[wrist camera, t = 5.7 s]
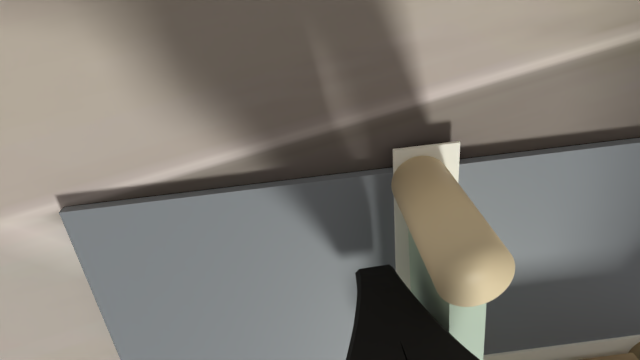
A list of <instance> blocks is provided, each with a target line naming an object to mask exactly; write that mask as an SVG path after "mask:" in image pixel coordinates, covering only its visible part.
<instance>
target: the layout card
mask: <svg viewBox="0 0 640 360" xmlns="http://www.w3.org/2000/svg"><path fill="white" fill-rule="evenodd" d="M417 156H431V157H435V158H437V159H438V160H440V161H441V162H442V163H443V164H444V165H445V166H446V167H447V169H448V170H449V171H450V173H451V174H452V175H453V177H454V178H455V180H456V181H457V182H458V184H459V185H460V186H461V188H462V189H463V190H464V192H465V193H466V194H467V196H468V197H469V198H470V200H471V201H472V202H473V204H474V205H475V206H476V208H477V209H478V210H479V212H480V213H481V214H482V216H483V217H484V218H485V220H486V221H487V222H488V224H489V225H490V226H491V228H492V229H493V230H494V232H495V233H496V234H497V236H498V237H499V238H500V240H501V241H502V242H503V244H504V245H505V246H506V248H507V249H508V250H509V252H510V253H511V255H512V256H513V258H514V261H515V274H514V277H513V279H512V281H511V283H510V285H509V286H508V287H507V289H506V290H505V291H504V292H503V293H502V294H501V295H499V296H498V297H497V298H495V299H493V300H491V301H490V302H487V304H486V321H485V338H484V354H483V360H580V359H588V358H596V357H603V356H611V355H618V354H626V353H628V352H629V351H630V350H631V348H632V347H633V346H635V345H636V344H637V343H639V342H640V138H633V139H624V140H616V141H608V142H600V143H591V144H583V145H575V146H566V147H558V148H550V149H542V150H533V151H525V152H517V153H508V154H500V155H492V156H484V157H475V158H467V159H460V142H459V141H455V142H447V143H438V144H430V145H422V146H413V147H405V148H397V149H393V167H392V168H384V169H376V170H367V171H359V172H351V173H343V174H334V175H326V176H318V177H309V178H301V179H293V180H284V181H276V182H268V183H260V184H251V185H243V186H235V187H226V188H218V189H210V190H202V191H193V192H185V193H177V194H168V195H160V196H152V197H144V198H135V199H127V200H119V201H110V202H102V203H94V204H85V205H77V206H69V207H63V209H62V210H61V211H60V212H59V214H60V216H61V219H62V221H63V223H64V226H65V228H66V230H67V233H68V235H69V238H70V240H71V242H72V245H73V247H74V250H75V252H76V254H77V257H78V259H79V262H80V264H81V266H82V269H83V271H84V273H85V276H86V278H87V281H88V283H89V285H90V288H91V290H92V293H93V295H94V297H95V300H96V302H97V305H98V307H99V309H100V312H101V314H102V316H103V319H104V321H105V324H106V326H107V328H108V331H109V333H110V336H111V338H112V340H113V343H114V345H115V347H116V350H117V352H118V355H119V357H120V359H121V360H346V357H347V353H348V349H349V344H350V340H351V335H352V331H353V325H354V318H355V311H356V302H357V283H356V275H355V273H356V272H357V271H358V270H359V269H362V268H369V267H375V266H382V265H388V264H389V265H391V266H392V267H393V268H394V269H395V271H396V272H397V274H398V275H399V277H400V278H401V279H402V281H403V282H404V283H405V285H406V286H407V287H408V288H409V290H410V291H411V286H410V260H409V235H408V226H407V224H406V222H405V219H404V217H403V215H402V213H401V211H400V208H399V206H398V204H397V202H396V199H395V197H394V195H393V193H392V189H391V182H392V178H393V175H394V173H395V171H396V170H397V168H398V167H399V166H400V165H401V164H402V163H404V162H405V161H407V160H408V159H411V158H413V157H417Z"/></svg>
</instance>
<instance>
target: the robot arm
mask: <svg viewBox="0 0 640 360" xmlns="http://www.w3.org/2000/svg"><path fill="white" fill-rule="evenodd" d="M355 275H356V283H357V302H356V311H355V318H354V325H353V331H352V335H351V340H350V344H349V349H348V353H347V357H346V360H480V359H478V358H477V357H476V356H475V355H474V354H472V353H471V352H470V351H469V350H468V349H467V348H465V347H464V346H463V345H462V344H461V343H460V342H459V341H458V340H457V339H455V338H454V337H453V336H452V335H451V334H450V333H449V332H448V331H447V330H446V329H445V328H444V327H443V326H442V325H441V324H440V323H439V322H438V321H437V320H436V319H435V318H434V317H433V316H432V315H431V314H430V313H429V311H428V310H427V309H426V308H425V307H424V306H423V305H422V304H421V303H420V302H419V300H418V299H417V298H416V297H415V296H414V295H413V293H412V292H411V291H410V290H409V288H408V287H407V286H406V285H405V283H404V282H403V281H402V279H401V278H400V277H399V275H398V274H397V272H396V271H395V269H394V268H393V267H392V266H391V265H389V264H388V265H382V266H375V267H369V268H362V269H359V270H358V271H357V272H356V273H355Z"/></svg>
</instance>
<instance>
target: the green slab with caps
mask: <svg viewBox="0 0 640 360" xmlns="http://www.w3.org/2000/svg"><path fill="white" fill-rule="evenodd" d="M391 189H392V193H393V195H394V197H395V199H396V202H397V204H398V206H399V208H400V211H401V213H402V215H403V217H404V219H405V222H406V224H407V226H408V235H409V260H410V286H411V292H412V293H413V295H414V296H415V297H416V298H417V299H418V300H419V302H420V303H421V304H422V305H423V306H424V307H425V308H426V309H427V310H428V311H429V313H430V314H431V315H432V316H433V317H434V318H435V319H436V320H437V321H438V322H439V323H440V324H441V325H442V326H443V327H444V328H445V329H446V330H447V331H448V332H449V333H450V334H451V335H452V336H453V337H454V338H455V339H457V340H458V341H459V342H460V343H461V344H462V345H463V346H464V347H465V348H467V349H468V350H469V351H470V352H471V353H472V354H474V355H475V356H476V357H477V358H478V359H480V360H483V354H484V338H485V321H486V304H487V302H490V301H491V300H493V299H495V298H497V297H498V296H499V295H501V294H502V293H503V292H504V291H505V290H506V289H507V287H508V286H509V285H510V283H511V281H512V279H513V277H514V274H515V261H514V258H513V256H512V255H511V253H510V252H509V250H508V249H507V248H506V246H505V245H504V244H503V242H502V241H501V240H500V238H499V237H498V236H497V234H496V233H495V232H494V230H493V229H492V228H491V226H490V225H489V224H488V222H487V221H486V220H485V218H484V217H483V216H482V214H481V213H480V212H479V210H478V209H477V208H476V206H475V205H474V204H473V202H472V201H471V200H470V198H469V197H468V196H467V194H466V193H465V192H464V190H463V189H462V188H461V186H460V185H459V184H458V182H457V181H456V180H455V178H454V177H453V175H452V174H451V173H450V171H449V170H448V169H447V167H446V166H445V165H444V164H443V163H442V162H441V161H440V160H438V159H437V158H435V157H431V156H417V157H413V158H411V159H408V160H407V161H405V162H404V163H402V164H401V165H400V166H399V167H398V168H397V170H396V171H395V173H394V175H393V178H392V182H391Z"/></svg>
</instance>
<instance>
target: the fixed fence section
mask: <svg viewBox="0 0 640 360" xmlns="http://www.w3.org/2000/svg"><path fill="white" fill-rule="evenodd" d="M580 360H640V342H639V343H637V344H636V345H635V346H633V347H632V348H631V350H630V351H629V352H628V353H626V354H618V355H611V356H603V357H596V358H588V359H580Z"/></svg>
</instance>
